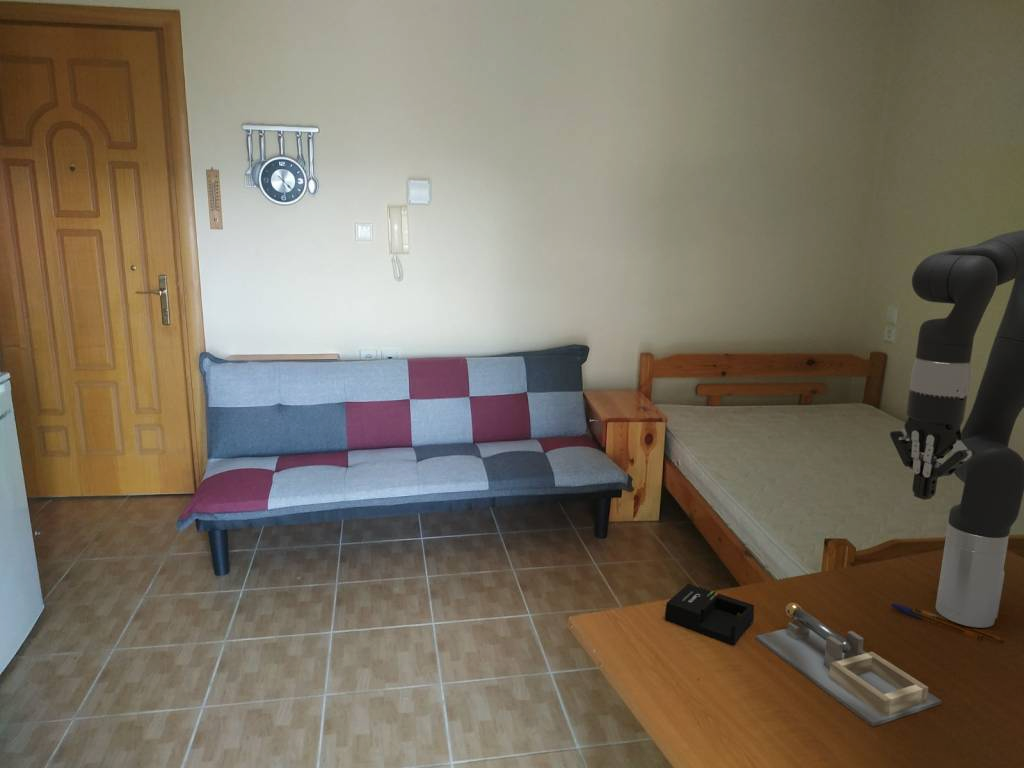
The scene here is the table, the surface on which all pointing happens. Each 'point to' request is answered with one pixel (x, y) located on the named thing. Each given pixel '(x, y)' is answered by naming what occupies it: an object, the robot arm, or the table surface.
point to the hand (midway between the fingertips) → (922, 497)
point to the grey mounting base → (851, 674)
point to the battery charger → (710, 613)
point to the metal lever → (815, 625)
